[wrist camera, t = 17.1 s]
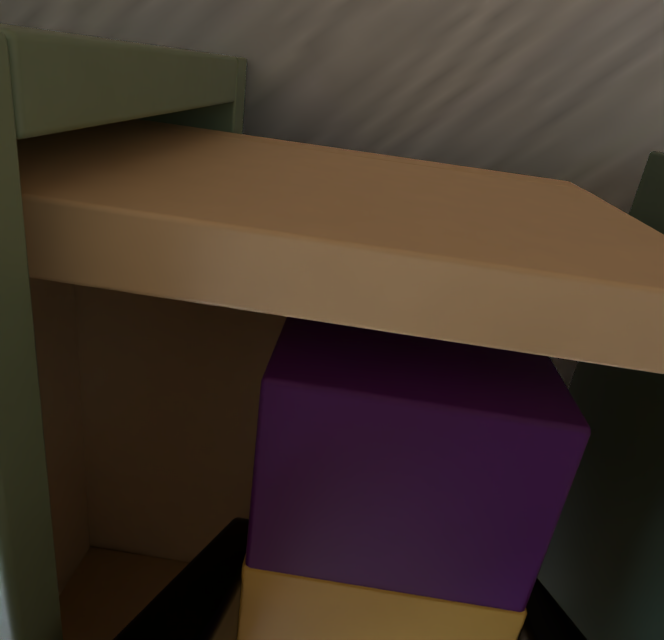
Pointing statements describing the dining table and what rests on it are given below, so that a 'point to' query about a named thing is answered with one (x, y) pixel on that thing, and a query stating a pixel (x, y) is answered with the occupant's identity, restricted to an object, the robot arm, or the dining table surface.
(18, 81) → the cabinet
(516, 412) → the chocolate bar
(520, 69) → the dining table surface
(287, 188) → the drawer
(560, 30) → the dining table surface
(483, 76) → the dining table surface
